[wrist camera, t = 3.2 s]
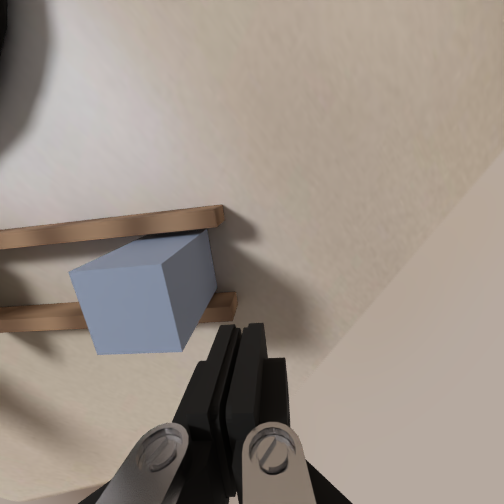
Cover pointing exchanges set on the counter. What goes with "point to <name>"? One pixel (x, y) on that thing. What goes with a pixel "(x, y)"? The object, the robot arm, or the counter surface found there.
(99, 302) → the block
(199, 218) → the track
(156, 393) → the counter surface
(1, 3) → the cable lock
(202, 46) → the counter surface
